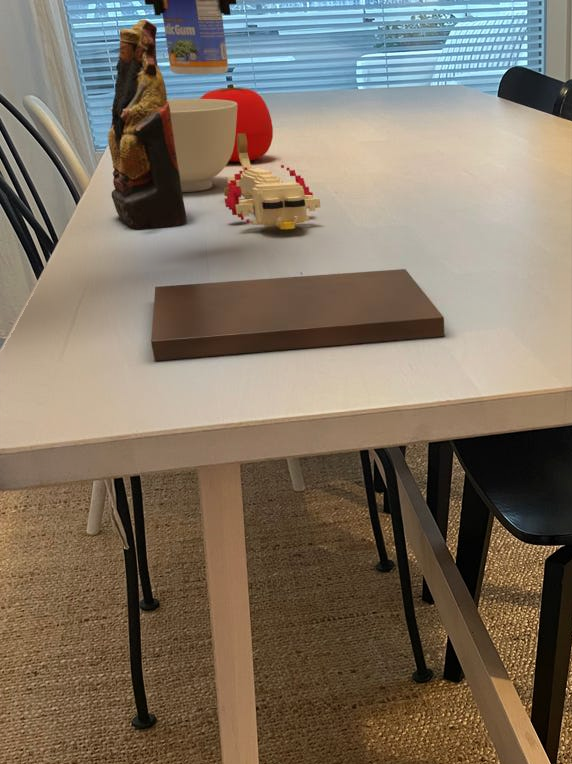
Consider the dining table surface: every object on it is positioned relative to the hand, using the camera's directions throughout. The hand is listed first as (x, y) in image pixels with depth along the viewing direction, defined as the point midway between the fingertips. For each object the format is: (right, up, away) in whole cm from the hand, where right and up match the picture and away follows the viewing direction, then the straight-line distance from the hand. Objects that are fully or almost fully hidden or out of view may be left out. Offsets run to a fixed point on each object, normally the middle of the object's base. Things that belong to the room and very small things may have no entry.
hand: (192, 12), depth 91 cm
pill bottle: (0, -4, +3) cm, 5 cm away
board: (+11, -32, -10) cm, 35 cm away
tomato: (-11, +17, +63) cm, 66 cm away
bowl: (-13, +3, +43) cm, 45 cm away
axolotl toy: (+1, -8, +26) cm, 27 cm away
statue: (-12, -9, +24) cm, 28 cm away
